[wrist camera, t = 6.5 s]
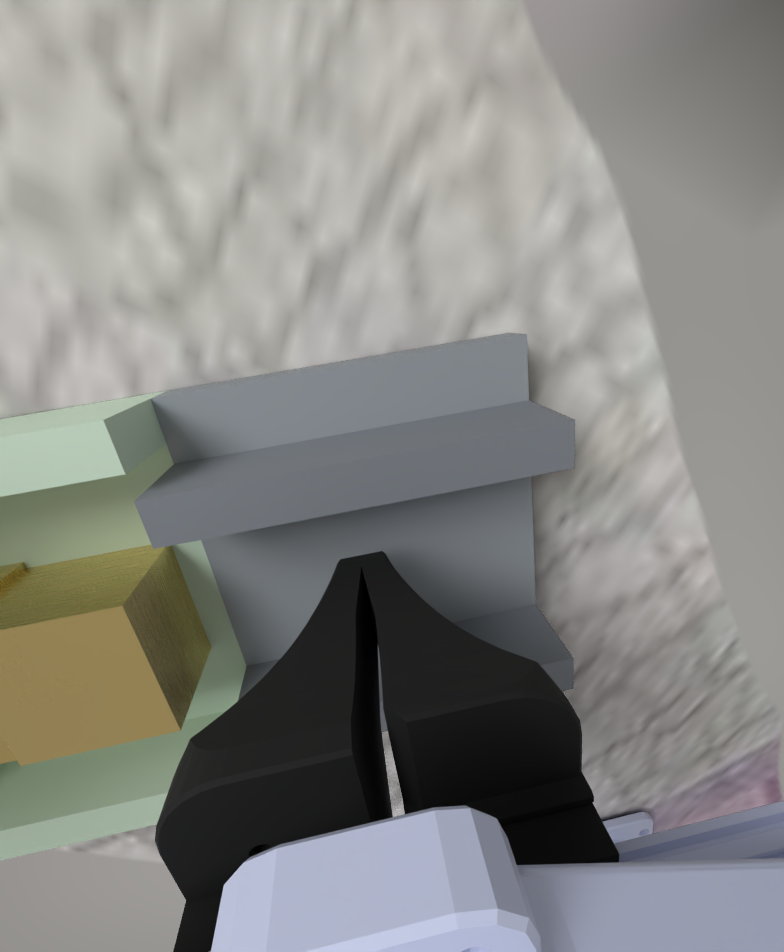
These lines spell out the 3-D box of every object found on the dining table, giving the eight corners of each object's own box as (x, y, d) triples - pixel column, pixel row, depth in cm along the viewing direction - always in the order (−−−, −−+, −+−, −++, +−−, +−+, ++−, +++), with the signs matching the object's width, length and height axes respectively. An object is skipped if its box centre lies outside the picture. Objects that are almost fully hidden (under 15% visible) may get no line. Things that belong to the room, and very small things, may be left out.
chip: (211, 647, 14) (180, 731, 11) (84, 674, 14) (21, 765, 11) (169, 540, 12) (122, 605, 10) (27, 568, 12) (-64, 643, 9)
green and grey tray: (524, 646, 17) (572, 730, 14) (-12, 764, 16) (-109, 889, 12) (509, 332, 13) (575, 339, 9) (-235, 459, 11) (-480, 521, 8)
